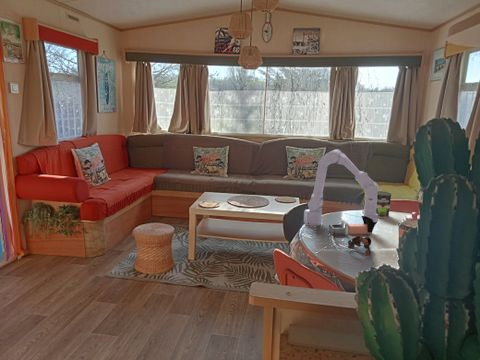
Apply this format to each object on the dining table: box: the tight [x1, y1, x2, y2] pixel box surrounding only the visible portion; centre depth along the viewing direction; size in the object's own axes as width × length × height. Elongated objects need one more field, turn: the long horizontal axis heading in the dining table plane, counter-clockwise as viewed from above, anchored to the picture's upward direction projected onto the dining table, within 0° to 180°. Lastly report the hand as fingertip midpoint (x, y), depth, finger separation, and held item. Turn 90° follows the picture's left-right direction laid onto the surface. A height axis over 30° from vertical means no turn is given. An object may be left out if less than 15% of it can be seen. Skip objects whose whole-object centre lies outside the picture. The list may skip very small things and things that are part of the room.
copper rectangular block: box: [348, 223, 373, 235], centre depth 185 cm, size 12×4×4 cm, turn 93°
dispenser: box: [327, 218, 370, 237], centre depth 184 cm, size 19×10×7 cm, turn 93°
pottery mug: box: [347, 236, 372, 256], centre depth 165 cm, size 12×10×8 cm
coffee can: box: [376, 190, 392, 219], centre depth 216 cm, size 10×10×14 cm
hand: (368, 230), depth 185 cm, fingers closed on copper rectangular block, 3 cm apart
